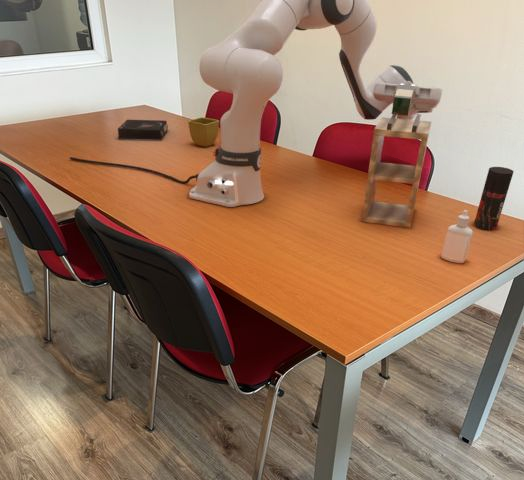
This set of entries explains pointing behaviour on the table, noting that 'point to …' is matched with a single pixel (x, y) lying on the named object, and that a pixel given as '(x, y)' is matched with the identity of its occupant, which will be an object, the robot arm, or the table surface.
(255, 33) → the robot arm
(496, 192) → the deodorant
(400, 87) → the bottle
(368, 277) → the table surface
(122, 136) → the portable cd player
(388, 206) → the bottle rack
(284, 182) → the table surface
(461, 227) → the eye dropper bottle
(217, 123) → the flower pot
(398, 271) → the table surface
